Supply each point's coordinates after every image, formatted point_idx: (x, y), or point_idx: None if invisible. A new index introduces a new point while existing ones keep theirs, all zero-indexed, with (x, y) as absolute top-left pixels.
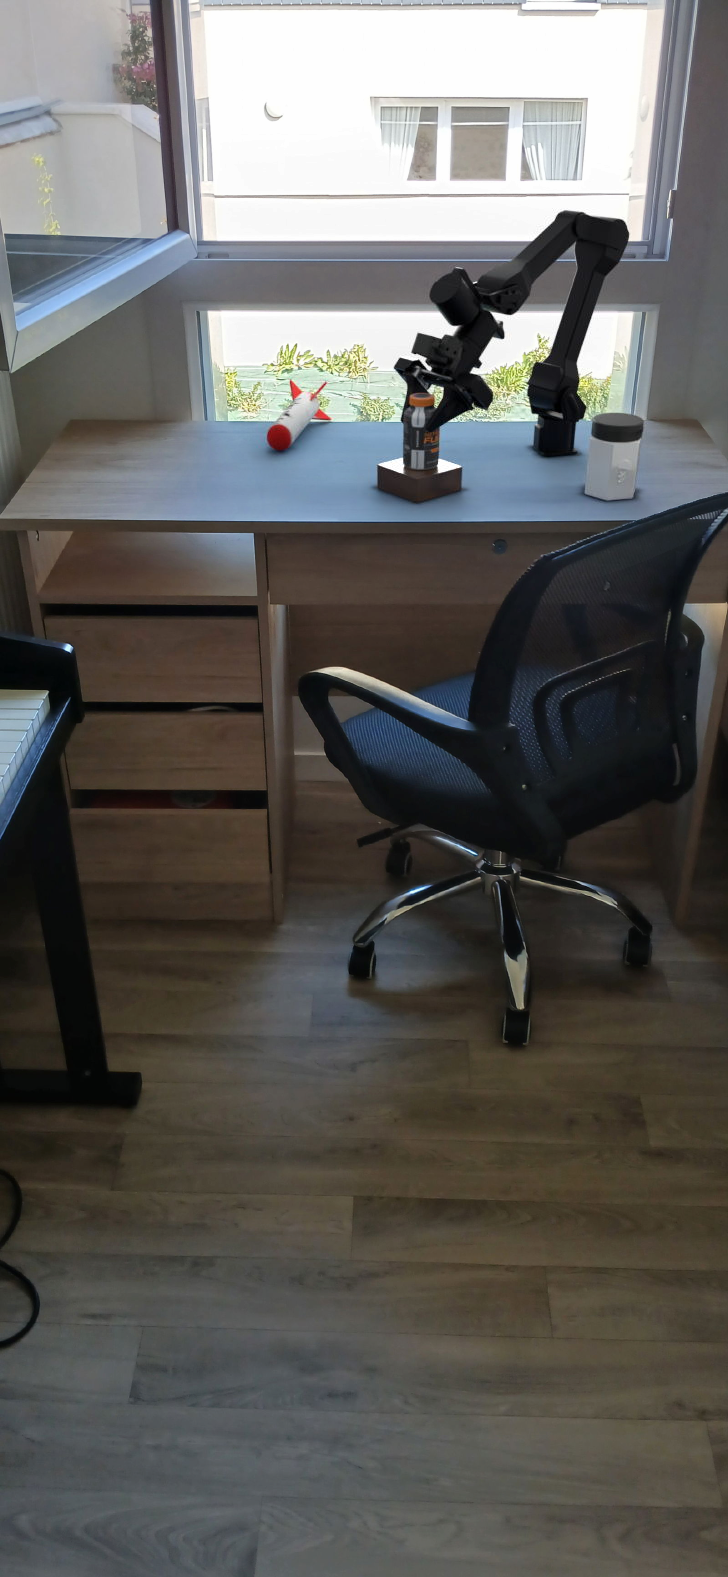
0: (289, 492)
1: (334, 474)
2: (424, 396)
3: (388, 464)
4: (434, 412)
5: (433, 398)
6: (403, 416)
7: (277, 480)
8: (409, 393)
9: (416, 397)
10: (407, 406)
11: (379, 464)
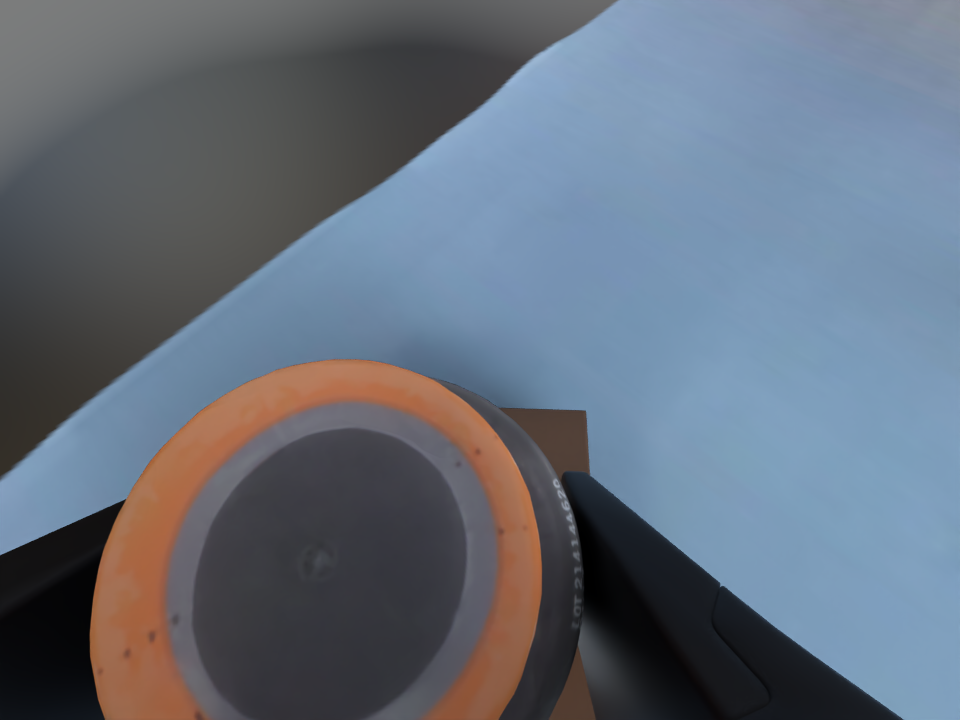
0: (704, 205)
1: (807, 424)
2: (231, 528)
3: (548, 448)
4: (107, 535)
5: (96, 649)
6: (571, 486)
7: (837, 243)
8: (747, 662)
9: (328, 414)
10: (603, 541)
11: (578, 417)
